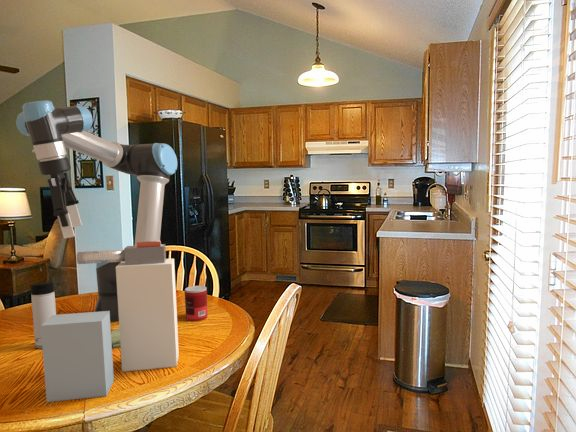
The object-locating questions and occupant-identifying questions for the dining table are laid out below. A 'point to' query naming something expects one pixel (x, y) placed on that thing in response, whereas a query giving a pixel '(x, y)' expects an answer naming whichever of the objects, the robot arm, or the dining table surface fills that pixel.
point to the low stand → (77, 355)
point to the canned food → (196, 303)
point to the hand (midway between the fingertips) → (73, 231)
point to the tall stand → (147, 315)
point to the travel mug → (42, 307)
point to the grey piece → (127, 254)
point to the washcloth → (115, 338)
